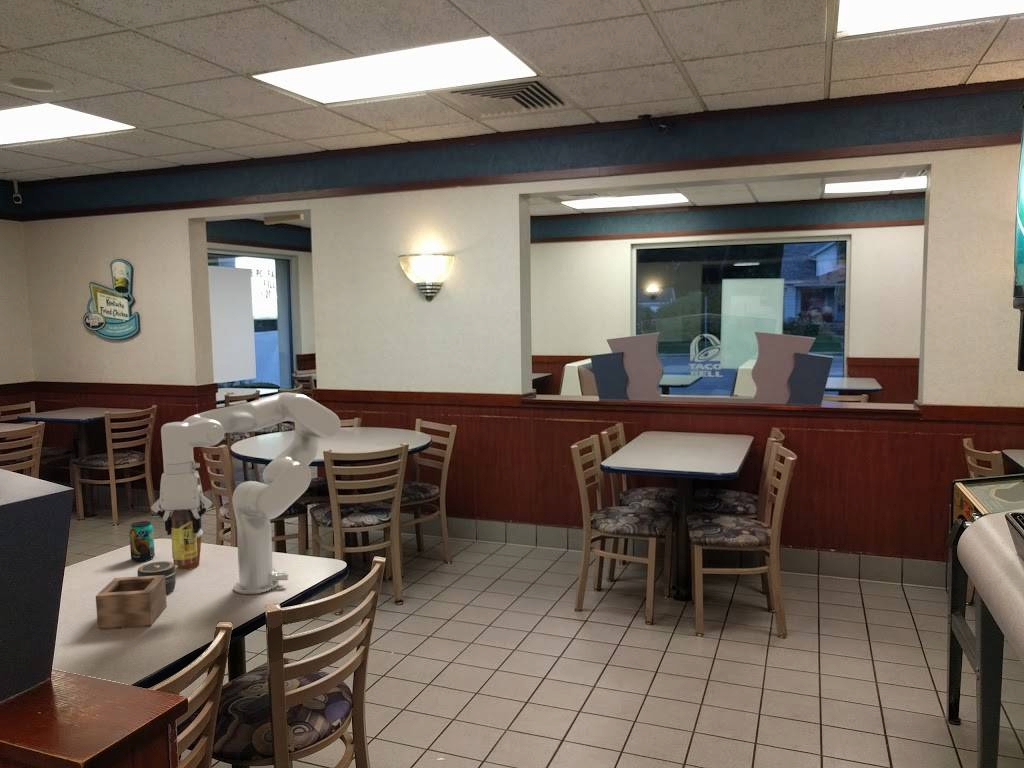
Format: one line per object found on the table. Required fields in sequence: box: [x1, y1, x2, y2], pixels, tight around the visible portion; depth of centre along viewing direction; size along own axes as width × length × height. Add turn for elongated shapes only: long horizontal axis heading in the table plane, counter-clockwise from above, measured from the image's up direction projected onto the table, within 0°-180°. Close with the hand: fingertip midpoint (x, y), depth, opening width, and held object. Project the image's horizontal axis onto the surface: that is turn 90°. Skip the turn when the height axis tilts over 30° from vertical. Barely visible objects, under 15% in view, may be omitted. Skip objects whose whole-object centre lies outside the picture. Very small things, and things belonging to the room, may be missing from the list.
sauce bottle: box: [170, 510, 197, 567], centre depth 202 cm, size 7×6×20 cm
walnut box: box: [95, 575, 168, 630], centre depth 198 cm, size 13×13×9 cm
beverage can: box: [128, 520, 156, 562], centre depth 245 cm, size 7×7×12 cm
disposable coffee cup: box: [170, 528, 204, 570], centre depth 237 cm, size 10×10×12 cm
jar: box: [136, 560, 177, 595], centre depth 216 cm, size 10×10×8 cm
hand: (183, 532), depth 202 cm, fingers closed on sauce bottle, 6 cm apart
